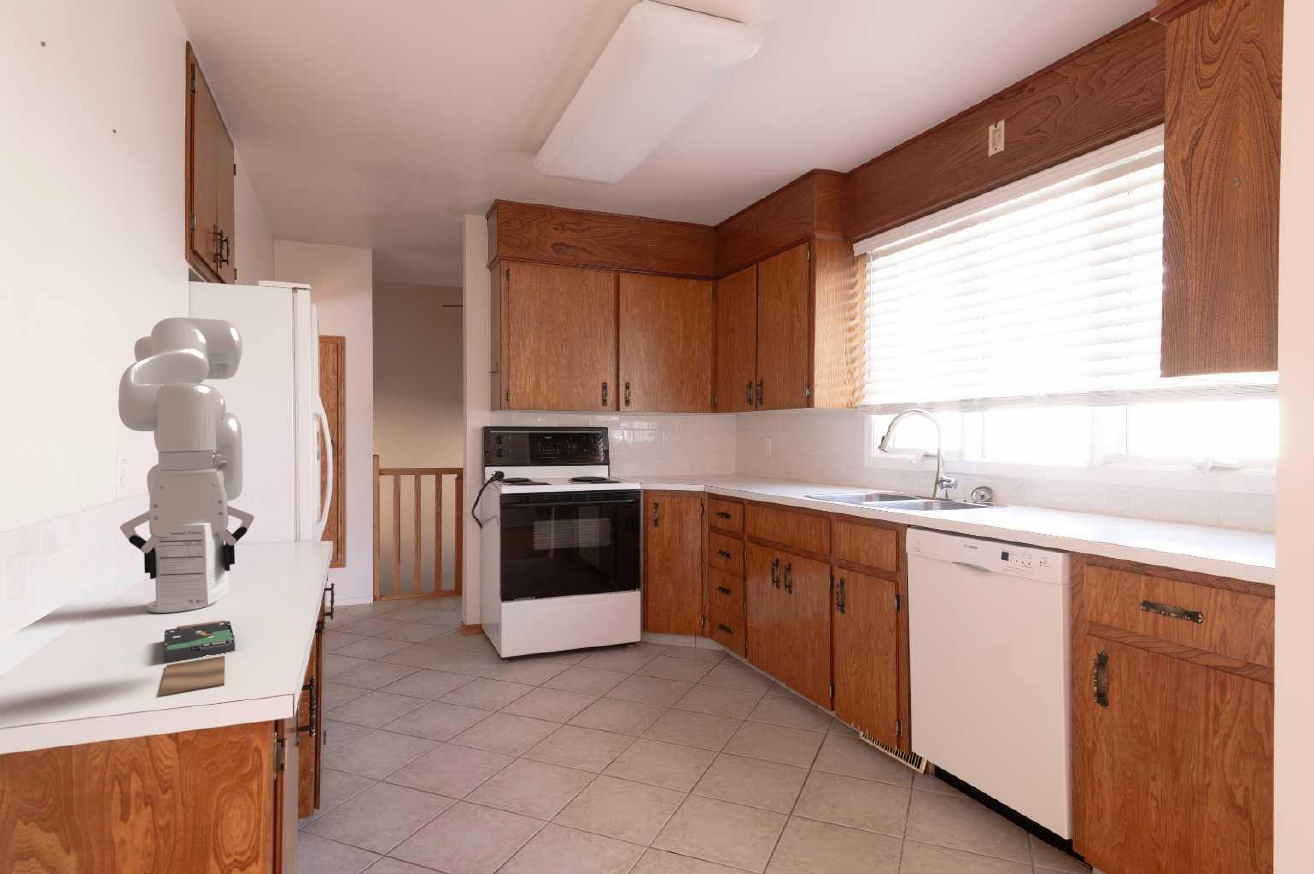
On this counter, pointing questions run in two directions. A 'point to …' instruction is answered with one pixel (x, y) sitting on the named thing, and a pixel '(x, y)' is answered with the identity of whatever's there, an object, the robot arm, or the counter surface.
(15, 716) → the counter surface
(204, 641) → the disk drive
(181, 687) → the flat brown wooden pieces
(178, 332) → the robot arm
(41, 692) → the counter surface
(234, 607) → the counter surface
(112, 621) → the counter surface
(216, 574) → the supplement box
